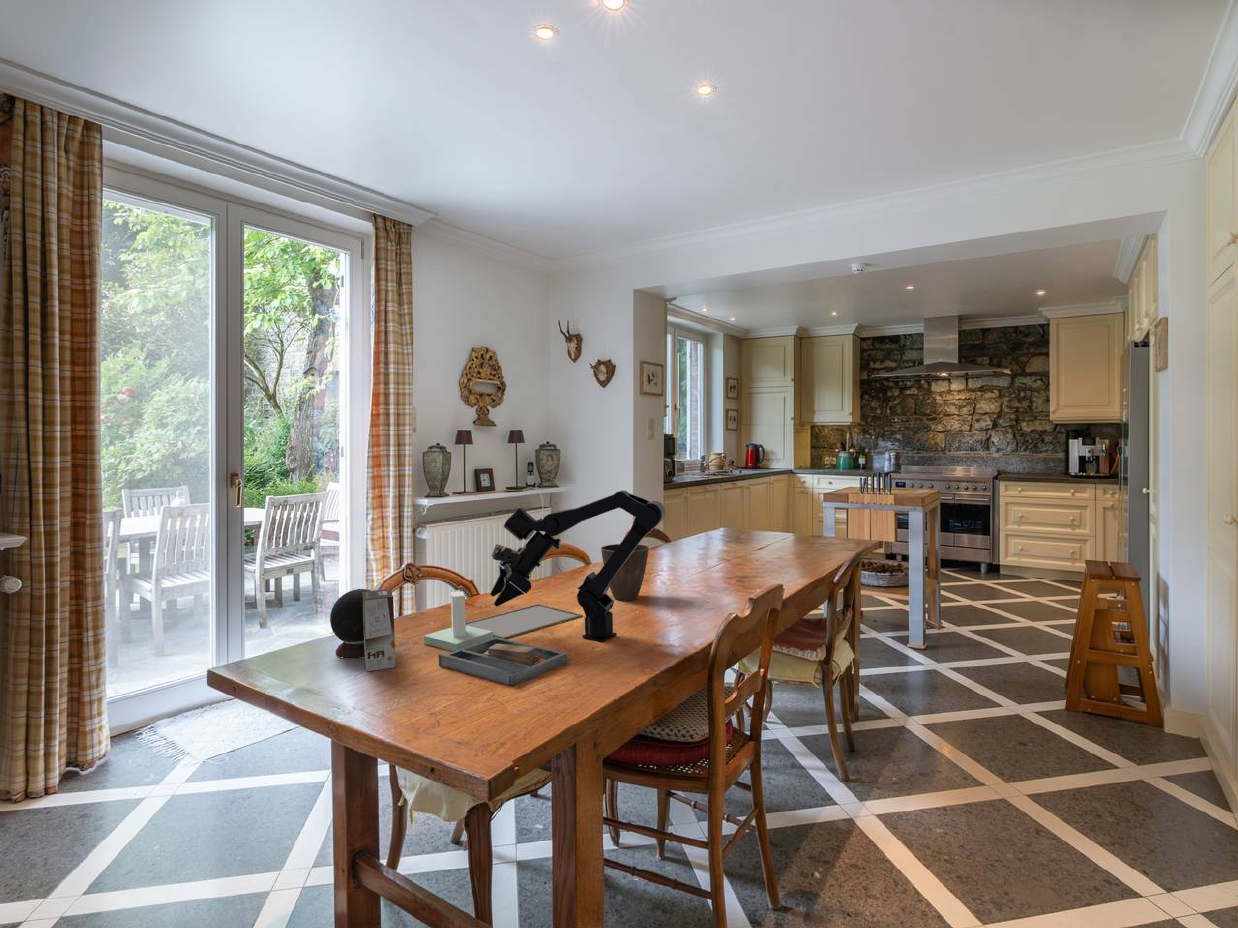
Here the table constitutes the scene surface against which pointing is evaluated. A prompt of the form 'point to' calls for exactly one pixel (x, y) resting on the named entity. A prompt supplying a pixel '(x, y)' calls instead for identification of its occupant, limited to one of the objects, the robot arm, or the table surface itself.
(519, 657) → the offcut stack
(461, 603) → the tall white cuboid
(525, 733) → the table surface
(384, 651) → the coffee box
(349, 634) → the black sphere with base
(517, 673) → the offcut tray
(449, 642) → the green board
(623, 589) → the plant pot
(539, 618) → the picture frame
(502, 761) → the table surface
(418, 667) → the table surface
